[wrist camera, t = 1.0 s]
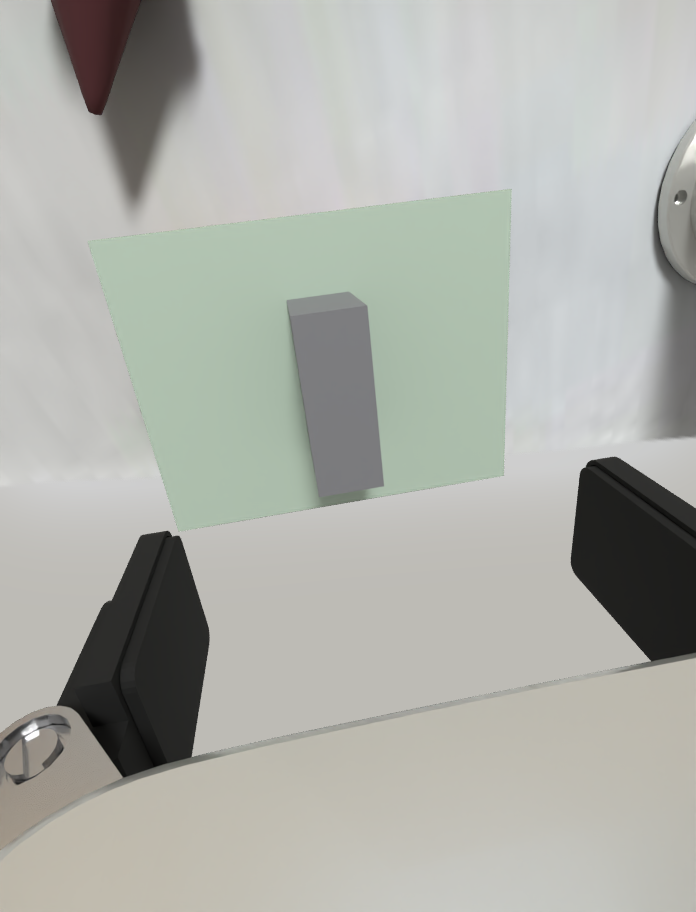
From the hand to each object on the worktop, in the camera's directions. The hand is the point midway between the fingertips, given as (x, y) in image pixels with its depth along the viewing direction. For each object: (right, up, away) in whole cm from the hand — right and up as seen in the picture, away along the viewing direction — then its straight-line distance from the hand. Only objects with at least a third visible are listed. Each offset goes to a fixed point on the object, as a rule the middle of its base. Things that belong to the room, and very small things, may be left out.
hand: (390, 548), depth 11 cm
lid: (-2, +7, +15) cm, 17 cm away
